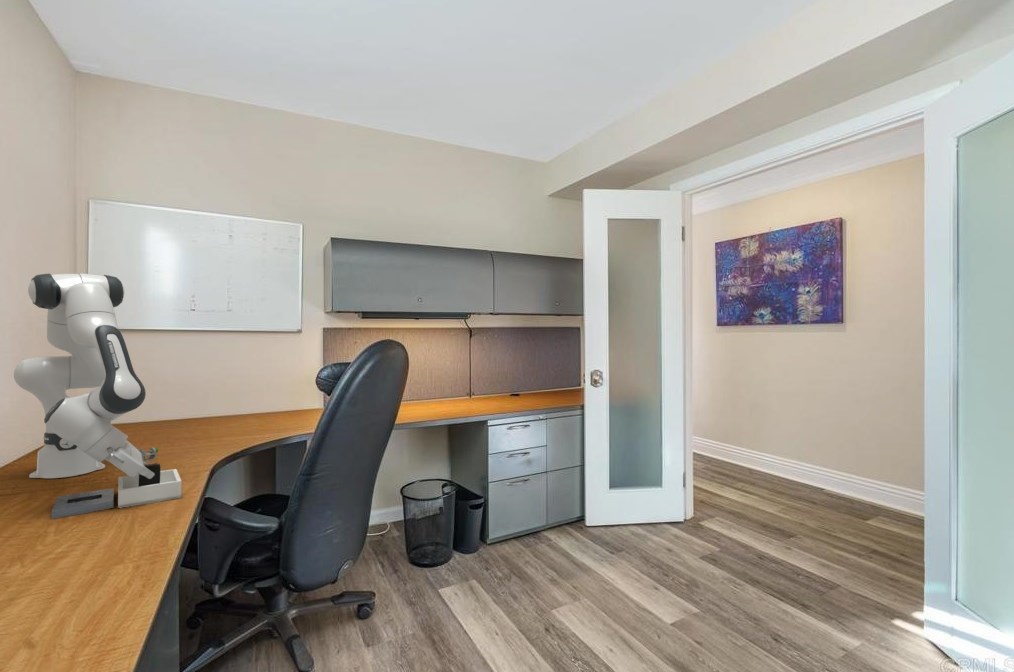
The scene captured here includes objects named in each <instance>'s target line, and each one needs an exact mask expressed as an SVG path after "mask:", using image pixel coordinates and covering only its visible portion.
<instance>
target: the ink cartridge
mask: <svg viewBox="0 0 1014 672" xmlns="http://www.w3.org/2000/svg"><path fill="white" fill-rule="evenodd" d="M144 466H145V467H146V468H148V469H149V470H151V471H152V472H154V474H155V475H154V476H153V477H152V478H151V479H148V478H147V477H145V476H143V475H141V474H139V486H138V487H140V486H146V485H153V484H159V483H160V471H161V470H162V469H161V464H160V463H157V462H156V463H148V464H147V463H146V464H145V465H144Z"/></svg>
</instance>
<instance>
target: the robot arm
mask: <svg viewBox="0 0 1014 672" xmlns="http://www.w3.org/2000/svg"><path fill="white" fill-rule="evenodd" d="M27 292H28V296H29V299H31V301H32V304H33V305H35V306H36V307H38V308H40V309H45V310H47V316H46V317H47V321H46V322H47V323H46V339H47V341H48V343H49V344H50V345H51V346H53V347H54V348H56V349H59V350H61V351H65V352H67V353H69V354H70V355H69V356H68V355H66V356H63V355H62V356H39V357H33V358H27V359H23V360H22V361H20V362H19V363H18V364H17V365H16V367H15V369H14V372H13V378H14V382H15V383H16V384H17V386H19V387H20V388H21V389H23V390H25V391H27V392H29V393H30V394H32V395H34V396H35V397H36V399H37V400H39V402H40V403H41V405H42V407H43V411H44V414H45V415H44V424H45V432H44V434H43V435H44V436H43V444H44V446H42V447H41V448H40V449H39V450H38V451H37V459H36V470H35V471H33V472H31V473H30V474H29V477H28V478H29V479H36V478H37V479H39V478H40V479H59V478H69V477H75V476H79V475H84V474H88V473H92V472H94V471H99V470H104V469H105V468H106V465H105V464H104V463H102V462H103V461H104V460H105V461H106V462H108V463H111V464H112V465H113V466H115V467H116V468H118V469H119V470H120V471H122V472H124V474H126V476H131V477H134V476H136V475H137V474H141V475H143V476H145V477H147V478H148V479H151V478H152V477H153V476H154V475H155V474H154V472H152V471H151V470H149V469H148V468H146V467H145V466H144V465H145V464H147V463H146V462H144V461H143V459H142V454H141V453H140V451H139V449H137V447H135V446H134V445H133V444H132V443H131V442H130V441H128V440H127V439H128V438H129V436H128V435H127V434H126V433H124V432H122V431H121V430H120V429H118V428H117V427H115V426H114V425H112V424H111V422H112V421H114V420H117V419H118V418H120V417H121V416H124V415H125V414H126V413H127V414H128V413H129V412H132V411H134V410H136V409H138V408H139V407H140V406H141V405H142V404H143V403H144V401H145V399H146V395H147V394H146V389H145V386H144V384H143V382H142V381H141V380H140V378H139V376H138V375H137V374H136V372H135V370H134V367H133V364H132V362H131V361H132V359H131V358H130V354H129V350H128V348H127V344H126V341H125V339H124V337H123V334H122V332H121V331H120V330H119V327H118V326H119V325H118V322H117V317H116V312H115V309H114V308H117V307H118V306H120V305H121V304H122V303H123V300H124V297H125V289H124V286H123V283H122V281H121V280H120V279H119V278H118V277H116V276H112V275H109V274H107V275H106V274H104V275H99V274H92V273H81V272H79V273H55V274H51V273H41V274H36V275H35V276H33V277H32V278H31V280H30V283H29V285H28V289H27ZM92 388H93V389H94V388H96V389H94V390H93V391H90V392H86V393H83V394H80V395H78V396H73V397H70V396H68V394H66V391H67V390H74V389H76V390H77V389H92Z"/></svg>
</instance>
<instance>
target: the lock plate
mask: <svg viewBox="0 0 1014 672" xmlns="http://www.w3.org/2000/svg"><path fill="white" fill-rule="evenodd" d="M114 495H115V488H114V487H112V488H105V489H98V490H91V491H84V492H80V493H79V492H78V493H71V494H66V495H58V496H56V499H55V501H54V504H53V507H52V509H51V520H54V519H60V518H66V517H72V516H78V515H83V514H89V513H88V512H90V513H93V512H92V511H96V512H99V511H98V510H102V511H105V510H104V509H108V510H110V509H109V508H113V509H114V504H115V503H114V501H115V500H114V497H115V496H114Z"/></svg>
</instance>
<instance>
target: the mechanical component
mask: <svg viewBox="0 0 1014 672" xmlns="http://www.w3.org/2000/svg"><path fill="white" fill-rule="evenodd" d="M138 450H139V451H140V453H141V454H142V459H143V461H144V462H145V463H146V462H151V461H154V460H156V458H157V453H158V451H159V449H158V447H150V448H149V450H148V451H149V452H147V451H146V450H145V449H143V448H139V449H138ZM146 457H148V458H146Z"/></svg>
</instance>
